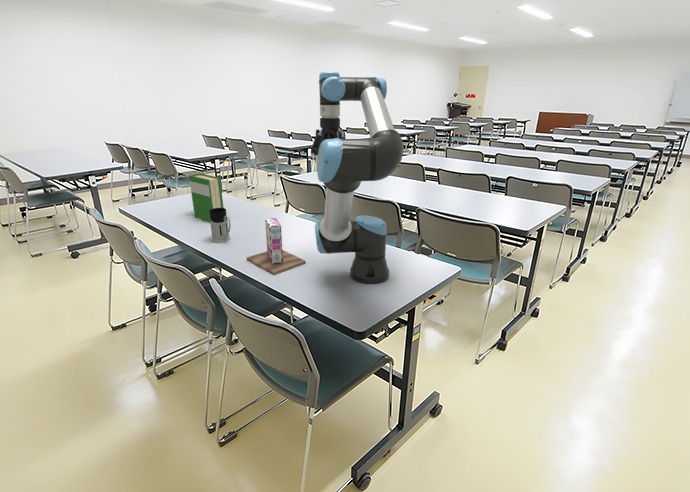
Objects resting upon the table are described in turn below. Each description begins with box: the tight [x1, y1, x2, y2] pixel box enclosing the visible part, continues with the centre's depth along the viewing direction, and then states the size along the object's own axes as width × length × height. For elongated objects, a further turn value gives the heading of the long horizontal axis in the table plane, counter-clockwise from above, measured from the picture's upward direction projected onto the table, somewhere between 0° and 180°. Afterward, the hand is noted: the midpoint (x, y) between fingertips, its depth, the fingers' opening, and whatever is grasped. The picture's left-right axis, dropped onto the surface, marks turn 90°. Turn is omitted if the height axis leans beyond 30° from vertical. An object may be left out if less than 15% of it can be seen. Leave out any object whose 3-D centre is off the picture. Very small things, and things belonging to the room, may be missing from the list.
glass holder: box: [209, 208, 231, 244], centre depth 183 cm, size 9×14×15 cm, turn 47°
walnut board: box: [246, 249, 307, 276], centre depth 163 cm, size 20×16×1 cm
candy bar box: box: [264, 217, 283, 264], centre depth 160 cm, size 11×5×16 cm, turn 20°
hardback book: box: [188, 173, 225, 224], centre depth 213 cm, size 18×7×24 cm, turn 52°
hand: (330, 173), depth 153 cm, fingers open, 13 cm apart
